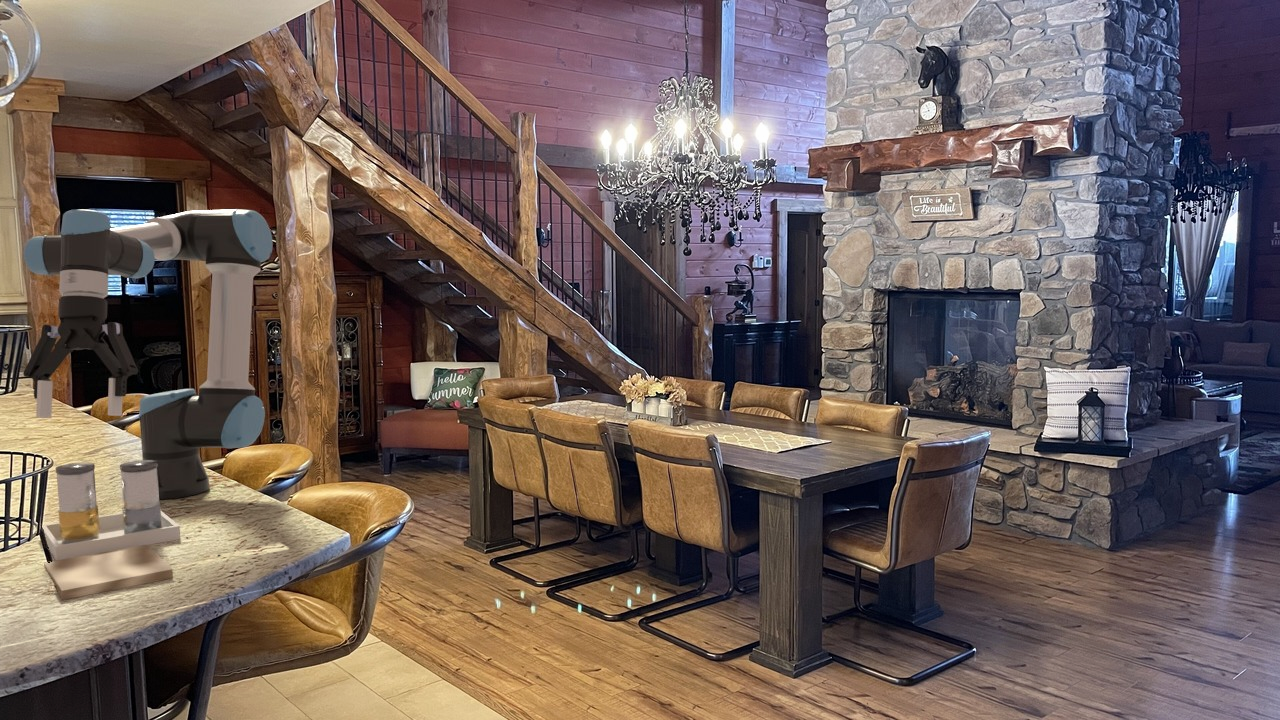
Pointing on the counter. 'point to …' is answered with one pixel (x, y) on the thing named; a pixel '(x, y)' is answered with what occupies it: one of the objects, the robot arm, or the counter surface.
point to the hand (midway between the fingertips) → (79, 416)
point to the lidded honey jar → (77, 502)
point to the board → (107, 571)
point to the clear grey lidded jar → (140, 496)
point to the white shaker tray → (110, 537)
